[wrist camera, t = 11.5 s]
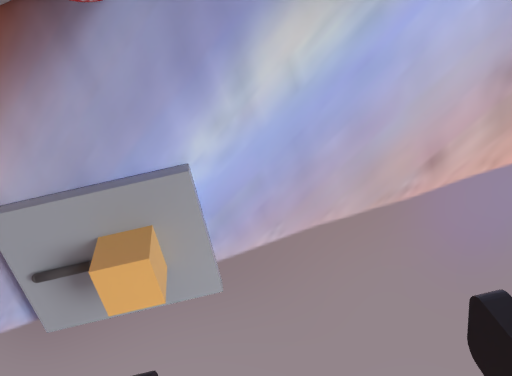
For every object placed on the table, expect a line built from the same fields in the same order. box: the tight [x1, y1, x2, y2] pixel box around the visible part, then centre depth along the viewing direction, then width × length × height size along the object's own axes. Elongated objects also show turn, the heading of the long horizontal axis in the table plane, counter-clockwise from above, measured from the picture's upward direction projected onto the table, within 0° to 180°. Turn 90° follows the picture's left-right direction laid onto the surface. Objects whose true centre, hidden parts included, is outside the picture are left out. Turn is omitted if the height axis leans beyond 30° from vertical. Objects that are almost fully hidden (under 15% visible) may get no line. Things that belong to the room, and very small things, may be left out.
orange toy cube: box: [88, 225, 167, 316], centre depth 41 cm, size 5×5×5 cm
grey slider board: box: [0, 164, 223, 333], centre depth 43 cm, size 18×14×5 cm
